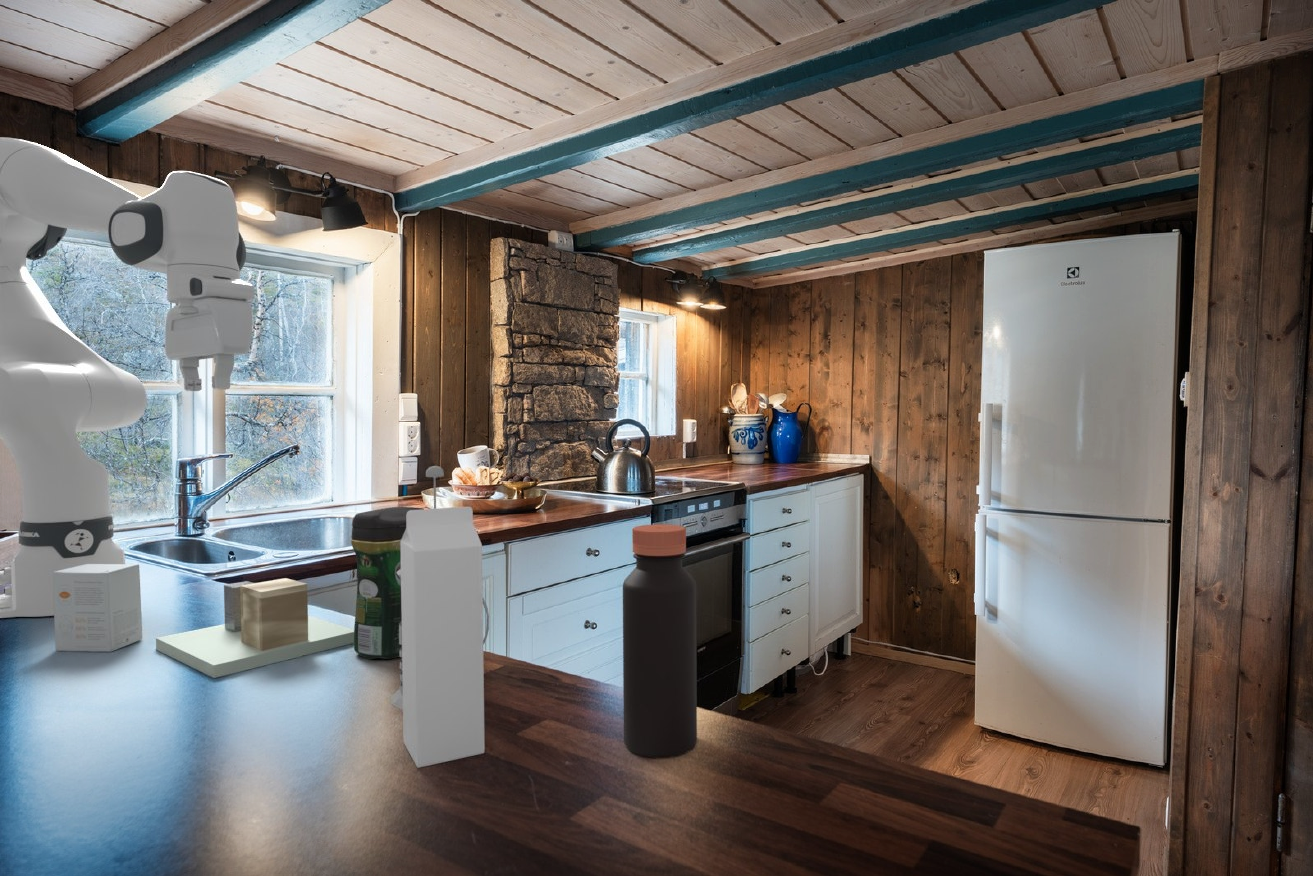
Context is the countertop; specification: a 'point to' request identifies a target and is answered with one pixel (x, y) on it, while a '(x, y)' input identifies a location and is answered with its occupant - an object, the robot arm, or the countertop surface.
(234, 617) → the post
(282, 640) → the wood grain cuboid
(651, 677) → the bottle
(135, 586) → the small box
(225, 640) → the board
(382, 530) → the coffee jar
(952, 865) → the countertop surface
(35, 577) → the robot arm
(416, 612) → the milk
